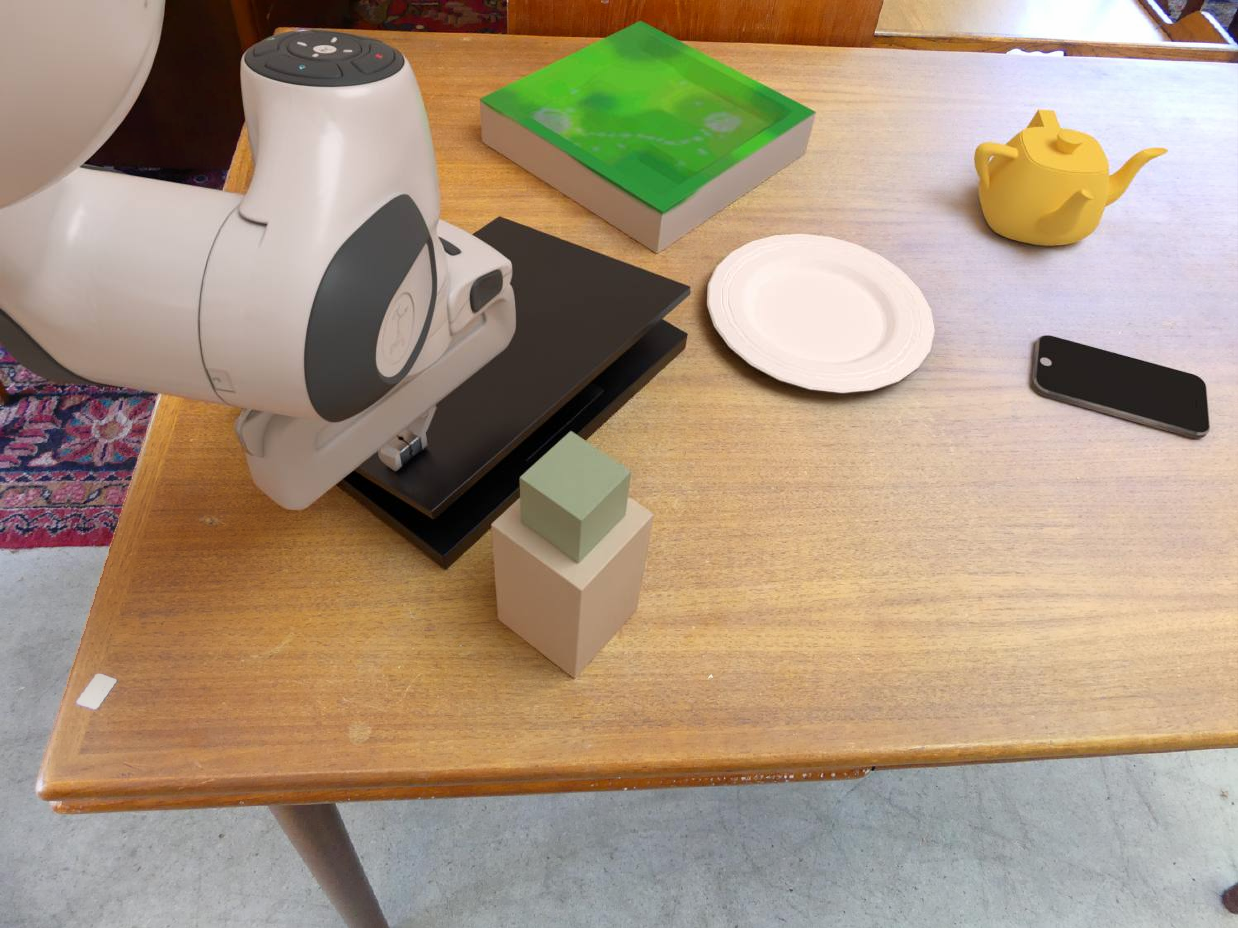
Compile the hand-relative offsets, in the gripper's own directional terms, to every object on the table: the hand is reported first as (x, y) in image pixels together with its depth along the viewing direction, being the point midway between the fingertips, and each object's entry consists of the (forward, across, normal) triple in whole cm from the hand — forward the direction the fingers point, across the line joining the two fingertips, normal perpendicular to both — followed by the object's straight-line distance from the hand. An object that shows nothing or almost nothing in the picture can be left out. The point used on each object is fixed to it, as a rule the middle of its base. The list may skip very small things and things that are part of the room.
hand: (404, 454), depth 65 cm
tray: (+7, +49, +15) cm, 52 cm away
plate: (+6, +38, -13) cm, 41 cm away
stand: (+6, 0, -15) cm, 16 cm away
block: (-6, 0, -15) cm, 16 cm away
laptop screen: (+2, +12, +5) cm, 14 cm away
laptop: (+6, +12, +5) cm, 15 cm away
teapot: (+7, +67, -23) cm, 71 cm away
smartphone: (+6, +49, -38) cm, 63 cm away
